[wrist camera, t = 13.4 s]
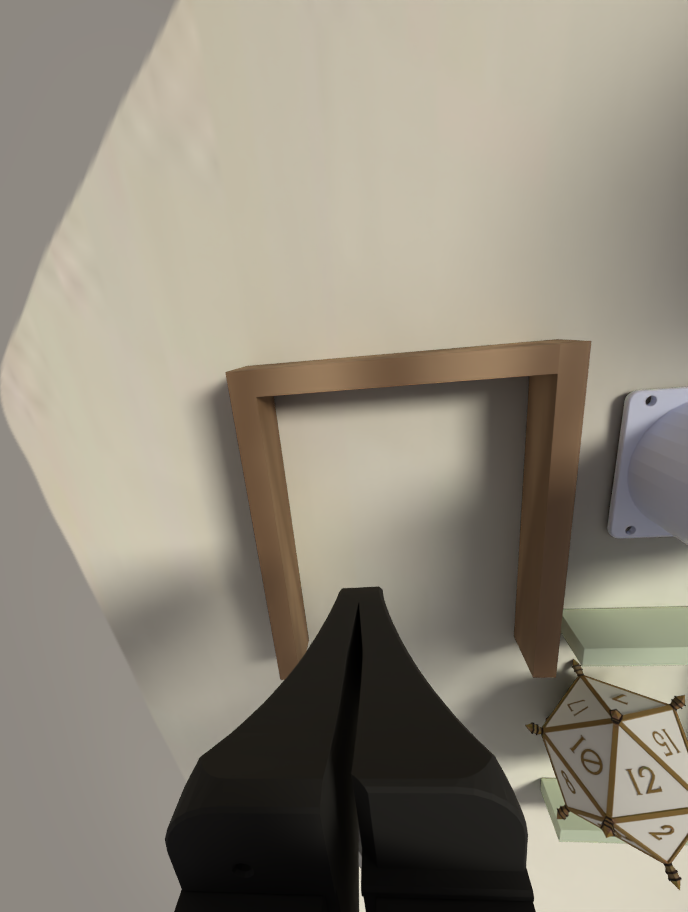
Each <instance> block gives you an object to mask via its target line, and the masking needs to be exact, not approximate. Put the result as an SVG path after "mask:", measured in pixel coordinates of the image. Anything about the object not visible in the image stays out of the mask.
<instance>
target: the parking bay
mask: <svg viewBox="0 0 688 912" xmlns="http://www.w3.org/2000/svg"><path fill="white" fill-rule="evenodd" d="M561 633H562V635H563V636H564V638H565V640H566V641H567V643H568V644H569V646H570V648H571V649H572V651H573V652H574V654H575V656H576V657H577V659H578V660H579V662H580V664H581V665H582V666H672V665H688V606H685V607H643V608H601V609H563V615H562V624H561ZM540 790H541V793H542V796H543V798H544V801H545V804H546V807H547V809H548V812H549V815H550V817H551V820H552V823H553V826H554V828H555V831H556V834H557V837H558V839H559V842H589V843H622V844H627V843H626V842H624V841H622V840H620V839H618V838H617V837H608V838H606V837H605V835H604V833H603V831H602V830H601V829H600V828H599V827H597V826H595V825H593V824H591V823H590V822H588V821H586V820H584V819H583V818H581V817H579V816H577V815H575V814H574V813H572V812H569V816H568V817H566V819H565V820H564V819H557V808H558V809H559V808H560V806H564V805H565V802H564V799H563V796H562V794H561V791H560V788H559V785H558V782H557V779H556V778H541V788H540ZM685 845H688V841H687V842H686V844H685Z"/></svg>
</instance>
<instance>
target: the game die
mask: <svg viewBox="0 0 688 912" xmlns="http://www.w3.org/2000/svg"><path fill="white" fill-rule="evenodd" d="M572 668H573V669H574V672H576V674H577V675H578V677H577V678H576V680H575V681H574V682H573V684H572V685H571V687H570V688H569V690H568V691H567V692H566V694H565V695H564V697H563V698H562V699H561V701H560V702H559V704H558V705H557V707H556V708H555V709H554V711H553V712H552V714H551V715H550V716H549V717H548V718H546V722H545V724H544V725H543V726H542V728H541V727H539V726H538V724H536V725H535V724H534V723H531V724H528V725H525V726H526V727H527V728H528V729H529V730H530V731H531V733H532V734H533V733H534V734H536V735H537V734H541V735H542V738H543V741H544V744H545V747H546V750H547V753H548V755H549V758H550V761H551V764H552V767H553V770H554V773H555V776H556V779H557V782H558V785H559V788H560V791H561V794H562V796H563V799H564V802H565V805H564V806H560V808H559V809H558V808H557V819H564V820H565V819H566V817H568V816H569V812H572V813H574V814H575V815H577V816H579V817H581V818H583V819H584V820H586V821H588V822H590V823H591V824H593V825H595V826H597V827H599V828H600V829H601V830H602V831H603V833H604V835H605V837H606V838H608V837H617V838H618V839H620V840H622V841H624V842H626V843H627V844H629V845H631V846H633V847H635V848H636V849H638V850H640V851H642V852H643V853H645V854H647V855H649V856H651V857H652V858H654V859H656V860H658V861H660V862H661V863H663V864H664V865H665V868H666V869H665V872H666V874H667V875H668V880H669V881H671V882H672V883H673V884H674V885H675V886H676V887H677V888H678V889H679V890H680V880H681V877H679V875H678V873H677V872H678V871H677V870H675V868H674V867H673V865H672V861H673V860H674V859H675V857H676V856H677V855H678V853H679V852H680V851H681V849H682V848H683V846H684V845H685V844H686V842H687V841H688V741H687V738H686V736H685V733H684V730H683V728H682V725H681V722H680V720H679V717H678V714H677V711H676V710H677V709H679V708H681V709H682V707H683V706H686V705H685V695H683V696H674V697H675V698H674V699H671V700H672V702H671V704H667V703H664V702H661V701H658V700H655V699H652V698H649V697H646V696H643V695H640V694H637V693H634V692H632V691H629V690H626V689H623V688H620V687H617V686H614V685H611V684H608V683H605V682H602V681H600V680H597V679H594V678H591V677H588V676H585V675H584V674H583V671H582V670H583V669H582V668H581V665H580V664H579V663H577V662H576V661H575V660H574V659H573V666H572Z"/></svg>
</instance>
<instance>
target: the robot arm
mask: <svg viewBox="0 0 688 912" xmlns="http://www.w3.org/2000/svg"><path fill="white" fill-rule="evenodd" d="M649 396H651V401H650V403H648V404H646V403H645V401H646V398H648V397H649ZM629 526H631V528H630V529H629V530H628V531H625V530H626V528H628V527H629ZM607 531H608V533H609V534H610V535H611V536H613V537H614V538H619V539H620V538H645V537H670V536H675V537H676V538H678V539H679V540H680V541H682V542H683V543H685V544H686V545H688V387H675V388H661V389H647V390H636V391H632V392H631V393H629V394H628V395H627V397H626V399H625V402H624V409H623V416H622V424H621V431H620V438H619V446H618V453H617V460H616V467H615V475H614V482H613V489H612V497H611V504H610V511H609V519H608V526H607ZM359 831H360V838H361V844H362V867H361V893H362V896H364V902H365V909H366V912H536V911H535V908H534V904H533V902H534V895H533V890H532V886H531V883H530V879H529V876H528V872H527V869H526V859H527V842H528V832H527V826H526V821H525V818H524V815H523V812H522V810H521V807H520V805H519V803H518V800H517V798H516V796H515V794H514V791H513V789H512V787H511V785H510V783H509V781H508V779H507V777H506V775H505V774H504V772H503V770H502V768H501V766H500V765H499V763H498V761H497V759H496V757H495V756H494V755H493V754H492V753H491V752H490V751H489V750H488V749H487V748H486V747H485V746H484V745H483V744H481V743H480V742H479V741H478V740H477V739H476V738H475V737H474V736H473V735H472V734H471V733H470V732H469V731H468V729H467V728H466V727H465V726H464V725H463V724H462V723H461V722H460V721H459V720H458V719H457V718H456V716H455V715H454V714H453V713H452V712H451V711H450V709H449V708H448V707H447V706H446V705H445V703H444V702H443V701H442V700H441V699H440V697H439V696H438V695H437V694H436V692H435V691H434V690H433V689H432V687H431V686H430V684H429V683H428V682H427V680H426V679H425V678H424V676H423V675H422V673H421V672H420V670H419V669H418V667H417V666H416V664H415V663H414V661H413V660H412V658H411V656H410V655H409V653H408V651H407V649H406V648H405V646H404V644H403V642H402V640H401V638H400V637H399V635H398V633H397V630H396V628H395V626H394V624H393V622H392V620H391V617H390V615H389V612H388V610H387V607H386V604H385V601H384V596H383V590H382V589H381V588H380V587H363V588H343V589H342V590H341V591H340V592H339V594H338V597H337V599H336V601H335V603H334V605H333V607H332V609H331V611H330V613H329V615H328V617H327V619H326V621H325V622H324V624H323V626H322V628H321V629H320V631H319V633H318V634H317V636H316V638H315V639H314V641H313V642H312V644H311V645H310V647H309V648H308V650H307V651H306V653H305V654H304V656H303V657H302V658H301V660H300V661H299V662H298V664H297V665H296V666H295V668H294V669H293V670H292V672H291V673H290V674H289V675H288V677H287V678H286V679H285V680H284V681H283V682H282V684H281V685H280V686H279V687H278V688H277V689H276V690H275V691H274V693H273V694H272V695H271V696H270V697H269V698H268V699H267V700H266V701H265V702H264V703H263V704H262V705H261V706H260V707H259V708H258V709H257V710H256V711H255V712H254V713H253V714H252V715H251V716H250V717H248V718H247V719H246V720H245V721H244V722H243V723H242V724H241V725H240V726H239V727H238V728H237V729H235V730H234V731H233V732H232V733H231V734H229V735H228V736H227V737H226V738H224V739H223V740H222V741H221V742H219V743H218V744H217V745H215V746H214V747H213V748H212V749H210V750H209V751H208V752H206V753H205V754H204V755H202V756H201V757H200V758H199V760H198V762H197V764H196V766H195V768H194V770H193V772H192V774H191V775H190V777H189V779H188V781H187V783H186V785H185V787H184V790H183V792H182V794H181V797H180V799H179V802H178V804H177V807H176V809H175V811H174V814H173V816H172V819H171V821H170V824H169V826H168V829H167V833H166V837H165V842H166V847H167V852H168V855H169V857H170V860H171V862H172V865H173V868H174V870H175V873H176V875H177V878H178V880H179V883H180V885H181V888H182V890H181V893H180V896H179V899H178V902H177V905H176V908H175V911H174V912H359Z"/></svg>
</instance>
